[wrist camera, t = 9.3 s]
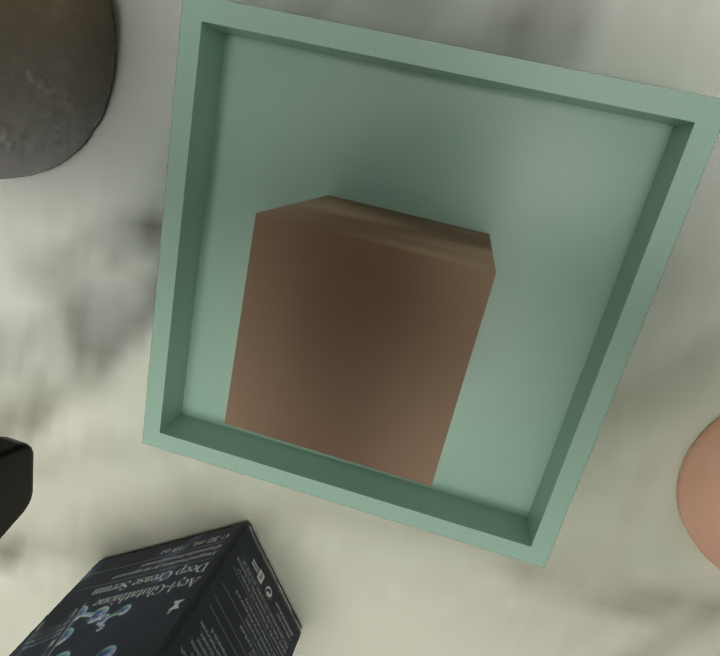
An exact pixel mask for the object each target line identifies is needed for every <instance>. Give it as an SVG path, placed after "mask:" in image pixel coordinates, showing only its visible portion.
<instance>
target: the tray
mask: <svg viewBox="0 0 720 656" xmlns="http://www.w3.org/2000/svg"><path fill="white" fill-rule="evenodd" d="M719 132H720V99H719V98H714V97H709V96H703V95H698V94H693V93H688V92H683V91H678V90H673V89H668V88H663V87H658V86H653V85H648V84H643V83H638V82H633V81H628V80H623V79H618V78H613V77H608V76H603V75H598V74H593V73H588V72H583V71H578V70H573V69H568V68H563V67H557V66H552V65H547V64H542V63H537V62H532V61H527V60H522V59H517V58H512V57H507V56H502V55H497V54H492V53H487V52H482V51H477V50H472V49H467V48H462V47H457V46H452V45H447V44H442V43H437V42H432V41H427V40H422V39H416V38H411V37H406V36H401V35H396V34H391V33H386V32H381V31H376V30H371V29H366V28H361V27H356V26H351V25H346V24H341V23H336V22H331V21H326V20H321V19H316V18H311V17H306V16H301V15H296V14H291V13H286V12H281V11H276V10H270V9H265V8H260V7H255V6H250V5H245V4H240V3H235V2H230V1H225V0H183V3H182V14H181V25H180V35H179V46H178V57H177V68H176V79H175V90H174V101H173V112H172V123H171V134H170V145H169V156H168V167H167V178H166V189H165V200H164V211H163V222H162V233H161V244H160V255H159V266H158V277H157V288H156V299H155V310H154V321H153V332H152V342H151V353H150V364H149V375H148V386H147V397H146V408H145V419H144V430H143V441H142V443H145V444H148V445H151V446H154V447H158V448H161V449H164V450H167V451H170V452H174V453H177V454H180V455H183V456H187V457H190V458H193V459H196V460H199V461H203V462H206V463H209V464H212V465H216V466H219V467H222V468H225V469H228V470H232V471H235V472H238V473H241V474H244V475H248V476H251V477H254V478H257V479H261V480H264V481H267V482H270V483H273V484H277V485H280V486H283V487H286V488H290V489H293V490H296V491H299V492H302V493H306V494H309V495H312V496H315V497H318V498H322V499H325V500H328V501H331V502H335V503H338V504H341V505H344V506H347V507H351V508H354V509H357V510H360V511H364V512H367V513H370V514H373V515H376V516H380V517H383V518H386V519H389V520H392V521H396V522H399V523H402V524H405V525H409V526H412V527H415V528H418V529H421V530H425V531H428V532H431V533H434V534H438V535H441V536H444V537H447V538H450V539H454V540H457V541H460V542H463V543H466V544H470V545H473V546H476V547H479V548H483V549H486V550H489V551H492V552H495V553H499V554H502V555H505V556H508V557H511V558H515V559H518V560H521V561H524V562H528V563H531V564H534V565H537V566H540V567H545V565H546V562H547V560H548V557H549V555H550V552H551V550H552V547H553V545H554V542H555V540H556V537H557V535H558V532H559V530H560V528H561V525H562V523H563V520H564V518H565V515H566V513H567V510H568V508H569V505H570V503H571V500H572V498H573V495H574V493H575V490H576V488H577V485H578V483H579V480H580V478H581V475H582V473H583V470H584V468H585V465H586V463H587V460H588V458H589V455H590V453H591V450H592V448H593V445H594V443H595V440H596V438H597V435H598V433H599V430H600V428H601V425H602V423H603V420H604V418H605V416H606V413H607V411H608V408H609V406H610V403H611V401H612V398H613V396H614V393H615V391H616V388H617V386H618V383H619V381H620V378H621V376H622V373H623V371H624V368H625V366H626V363H627V361H628V358H629V356H630V353H631V351H632V348H633V346H634V343H635V341H636V338H637V336H638V333H639V331H640V328H641V326H642V323H643V321H644V318H645V316H646V313H647V311H648V308H649V306H650V303H651V301H652V299H653V296H654V294H655V291H656V289H657V286H658V284H659V281H660V279H661V276H662V274H663V271H664V269H665V266H666V264H667V261H668V259H669V256H670V254H671V251H672V249H673V246H674V244H675V241H676V239H677V236H678V234H679V231H680V229H681V226H682V224H683V221H684V219H685V216H686V214H687V211H688V209H689V206H690V204H691V201H692V199H693V196H694V194H695V191H696V189H697V187H698V184H699V182H700V179H701V177H702V174H703V172H704V169H705V167H706V164H707V162H708V159H709V157H710V154H711V152H712V149H713V147H714V144H715V142H716V139H717V137H718V134H719ZM327 195H331V196H335V197H339V198H343V199H348V200H352V201H356V202H360V203H364V204H368V205H372V206H376V207H380V208H385V209H389V210H393V211H397V212H401V213H405V214H409V215H413V216H417V217H422V218H426V219H430V220H434V221H438V222H442V223H446V224H450V225H454V226H459V227H463V228H467V229H471V230H475V231H479V232H483V233H487V234H490V240H491V246H492V252H493V258H494V264H495V270H496V275H495V279H494V282H493V285H492V288H491V292H490V295H489V298H488V302H487V305H486V308H485V312H484V315H483V318H482V321H481V325H480V328H479V331H478V335H477V338H476V341H475V345H474V348H473V351H472V354H471V358H470V361H469V364H468V368H467V371H466V374H465V377H464V381H463V384H462V387H461V391H460V394H459V397H458V401H457V404H456V407H455V410H454V414H453V417H452V420H451V424H450V427H449V430H448V434H447V437H446V440H445V443H444V447H443V450H442V453H441V457H440V460H439V463H438V467H437V470H436V473H435V476H434V480H433V483H432V486H429V485H426V484H422V483H419V482H416V481H413V480H409V479H406V478H403V477H399V476H396V475H393V474H390V473H386V472H383V471H380V470H376V469H373V468H370V467H366V466H363V465H360V464H357V463H353V462H350V461H347V460H343V459H340V458H337V457H334V456H330V455H327V454H324V453H320V452H317V451H314V450H310V449H307V448H304V447H301V446H297V445H294V444H291V443H287V442H284V441H281V440H278V439H274V438H271V437H268V436H264V435H261V434H258V433H254V432H251V431H248V430H245V429H241V428H238V427H235V426H231V425H228V424H225V416H226V410H227V403H228V396H229V390H230V383H231V376H232V370H233V363H234V356H235V349H236V343H237V336H238V329H239V323H240V316H241V309H242V303H243V296H244V289H245V283H246V276H247V269H248V263H249V256H250V249H251V243H252V236H253V229H254V223H255V216H256V213H257V212H261V211H266V210H270V209H274V208H278V207H282V206H286V205H290V204H294V203H298V202H302V201H306V200H310V199H315V198H319V197H323V196H327Z"/></svg>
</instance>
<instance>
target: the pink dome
mask: <svg viewBox="0 0 720 656" xmlns="http://www.w3.org/2000/svg"><path fill="white" fill-rule="evenodd" d="M677 502H678V508H679V512H680V515H681V518H682V521H683V523H684V525H685V527H686V529H687V531H688V533H689V534H690V536H691V538H692V540H693V541H694V543H695V544H696V545H697V547H698V548H699V550H700V551H701V552H702V553H703V554H704V555H705V556H706V557H707V558H708V559H709V560H710V561H711V562H712V563H713V564H715V565H716V566H717V567H718V568H720V417H719V418H718V419H716V420H715V421H714V422H713V423H712V424H710V425H709V426H708V427H707V428H706V429H705V430H704V431H703V432H702V433H701V434H700V435H699V437H698V438H697V439H696V441H695V442H694V443H693V445H692V446H691V447H690V449H689V451H688V453H687V455H686V457H685V458H684V460H683V463H682V466H681V469H680V472H679V477H678V482H677Z"/></svg>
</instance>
